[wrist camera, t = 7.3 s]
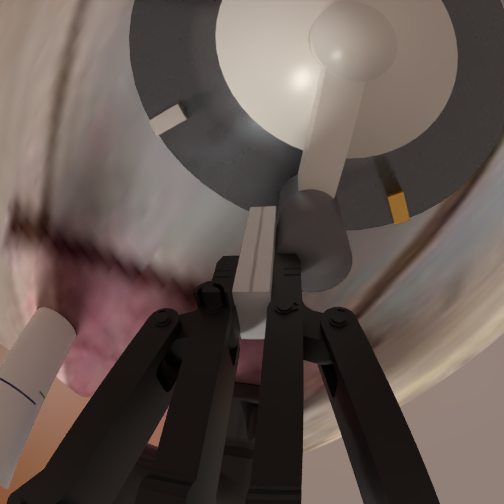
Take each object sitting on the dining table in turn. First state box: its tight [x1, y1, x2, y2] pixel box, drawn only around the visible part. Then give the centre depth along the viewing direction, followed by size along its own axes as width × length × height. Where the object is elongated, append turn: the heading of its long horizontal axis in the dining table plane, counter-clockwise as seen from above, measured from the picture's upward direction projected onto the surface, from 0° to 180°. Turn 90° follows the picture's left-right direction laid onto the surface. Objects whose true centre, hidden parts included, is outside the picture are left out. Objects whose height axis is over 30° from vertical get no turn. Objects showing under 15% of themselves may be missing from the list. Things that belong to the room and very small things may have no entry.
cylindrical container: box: [0, 307, 76, 489], centre depth 28 cm, size 7×7×25 cm
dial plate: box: [129, 0, 504, 230], centre depth 16 cm, size 26×26×2 cm
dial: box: [215, 0, 458, 292], centre depth 13 cm, size 19×14×8 cm
